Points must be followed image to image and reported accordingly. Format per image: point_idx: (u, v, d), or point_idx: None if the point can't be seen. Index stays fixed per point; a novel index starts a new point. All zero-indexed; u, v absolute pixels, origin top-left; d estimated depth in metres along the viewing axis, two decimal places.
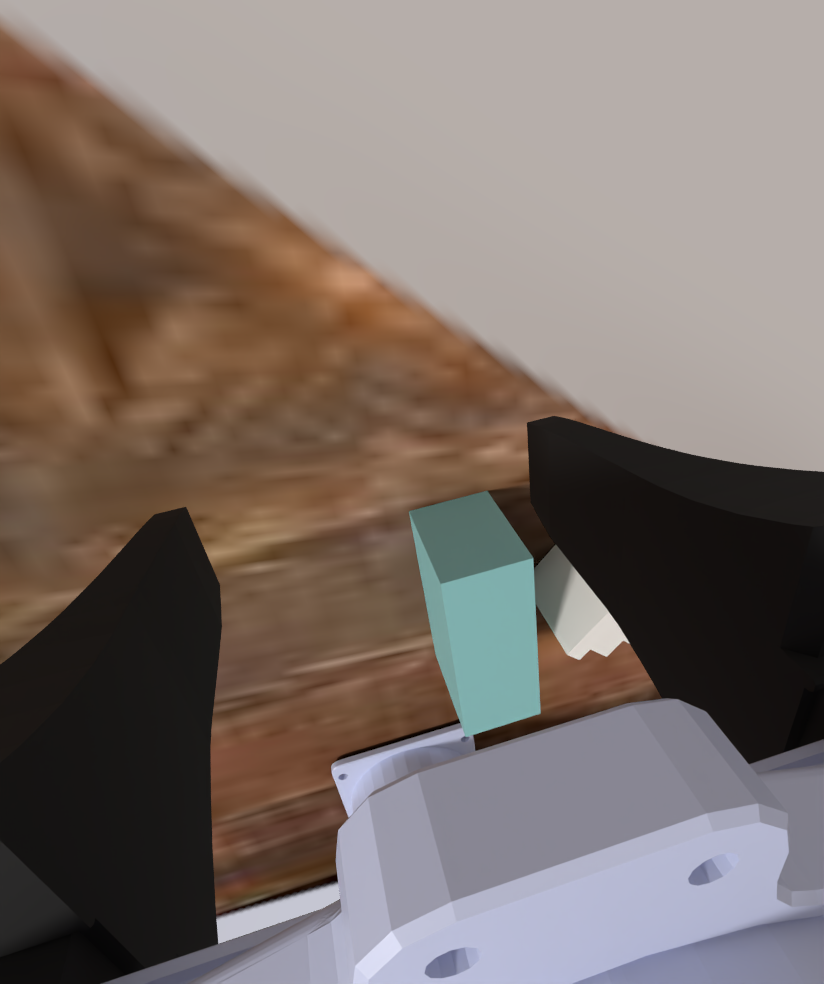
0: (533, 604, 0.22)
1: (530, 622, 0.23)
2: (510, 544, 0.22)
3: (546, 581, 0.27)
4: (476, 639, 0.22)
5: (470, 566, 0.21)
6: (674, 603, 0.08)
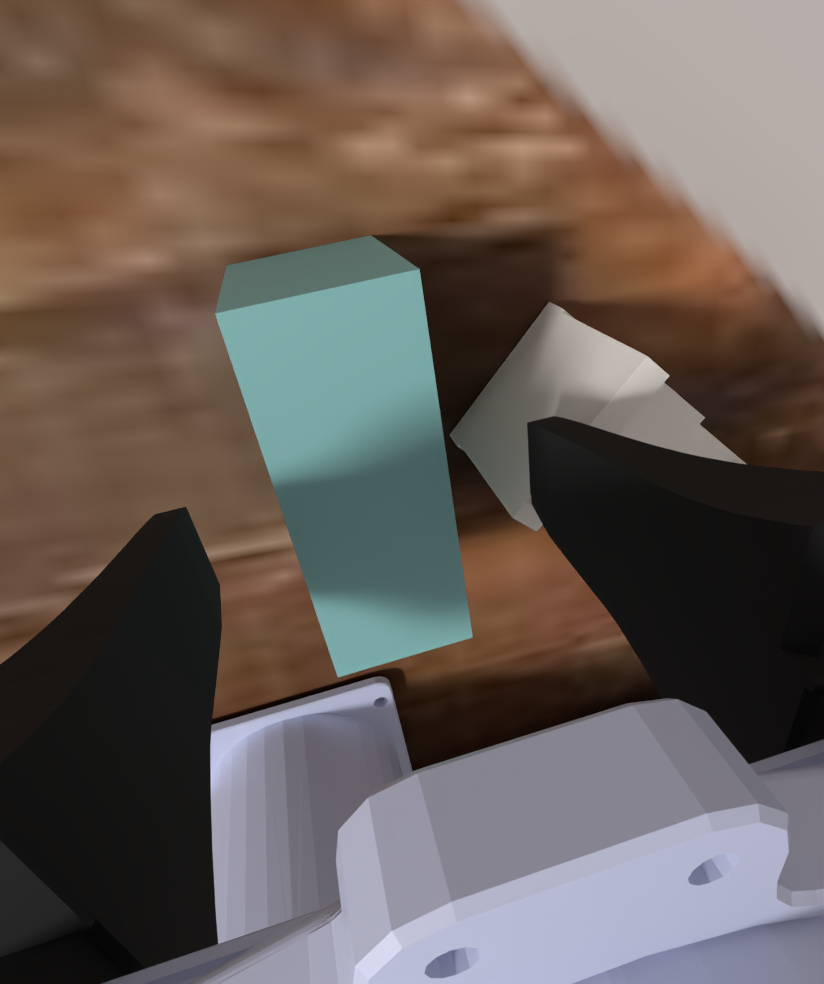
0: (432, 391, 0.11)
1: (432, 437, 0.12)
2: (382, 265, 0.11)
3: (486, 419, 0.16)
4: (324, 467, 0.11)
5: (289, 291, 0.10)
6: (674, 603, 0.08)
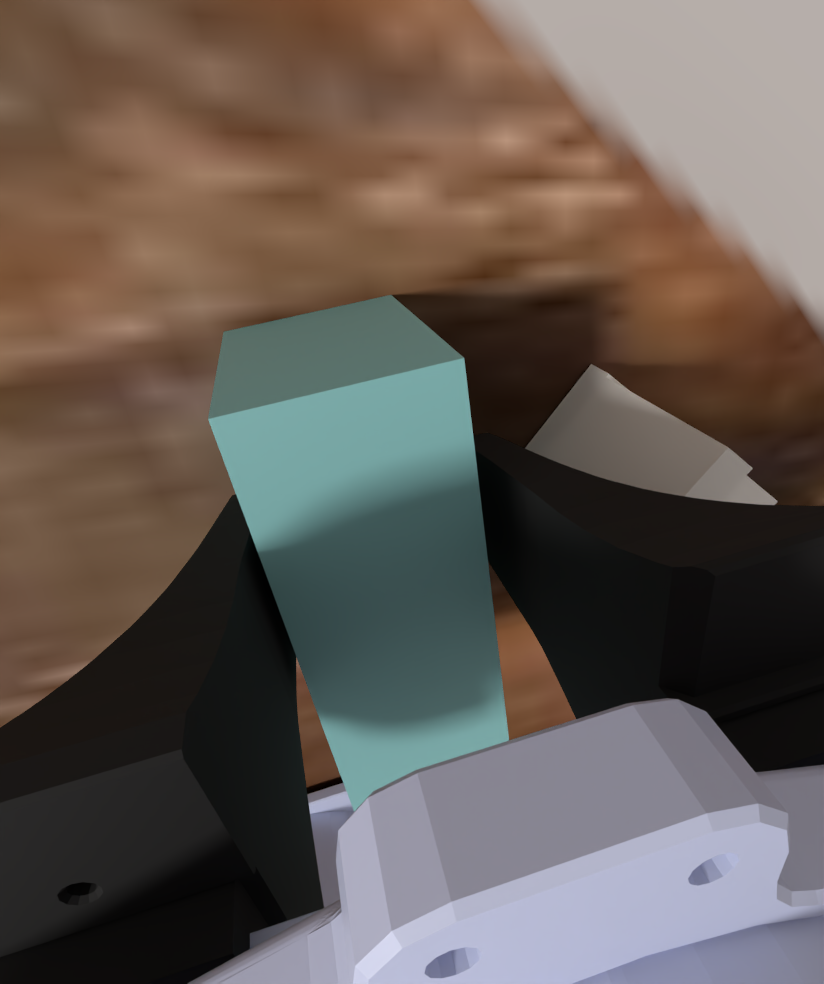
0: (474, 497, 0.09)
1: (472, 547, 0.10)
2: (414, 346, 0.09)
3: None
4: (342, 587, 0.09)
5: (301, 385, 0.08)
6: (580, 631, 0.08)
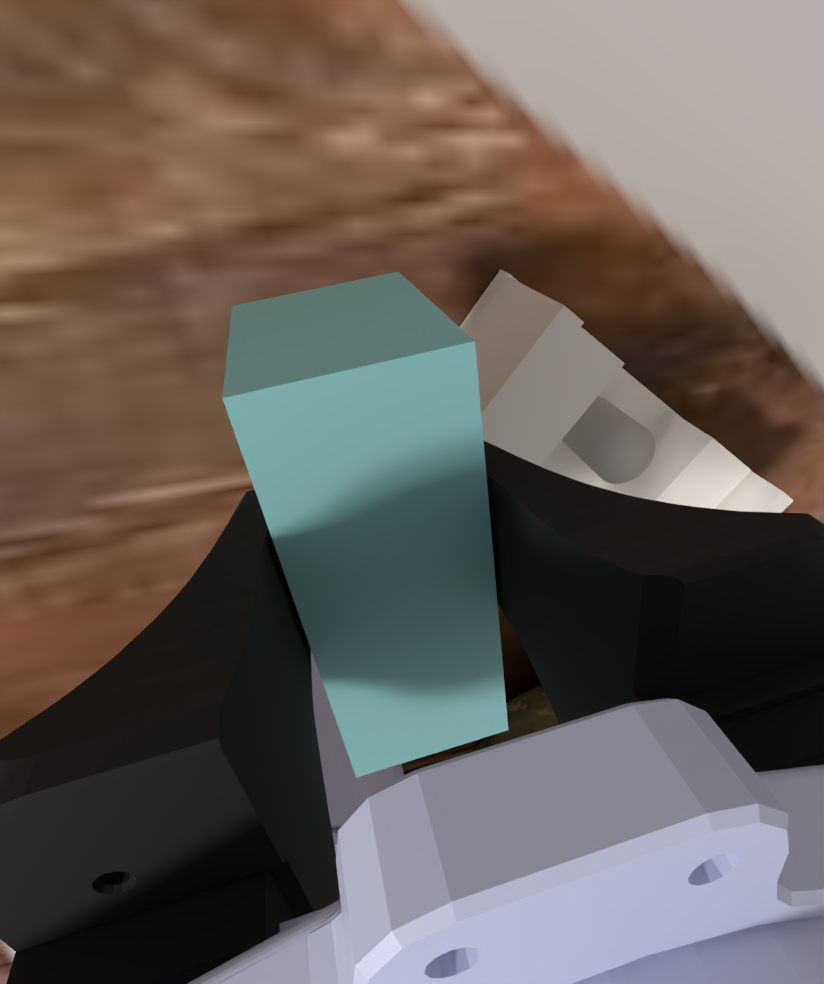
0: (480, 478, 0.09)
1: (477, 527, 0.10)
2: (424, 328, 0.09)
3: None
4: (349, 563, 0.10)
5: (313, 365, 0.08)
6: (560, 637, 0.08)
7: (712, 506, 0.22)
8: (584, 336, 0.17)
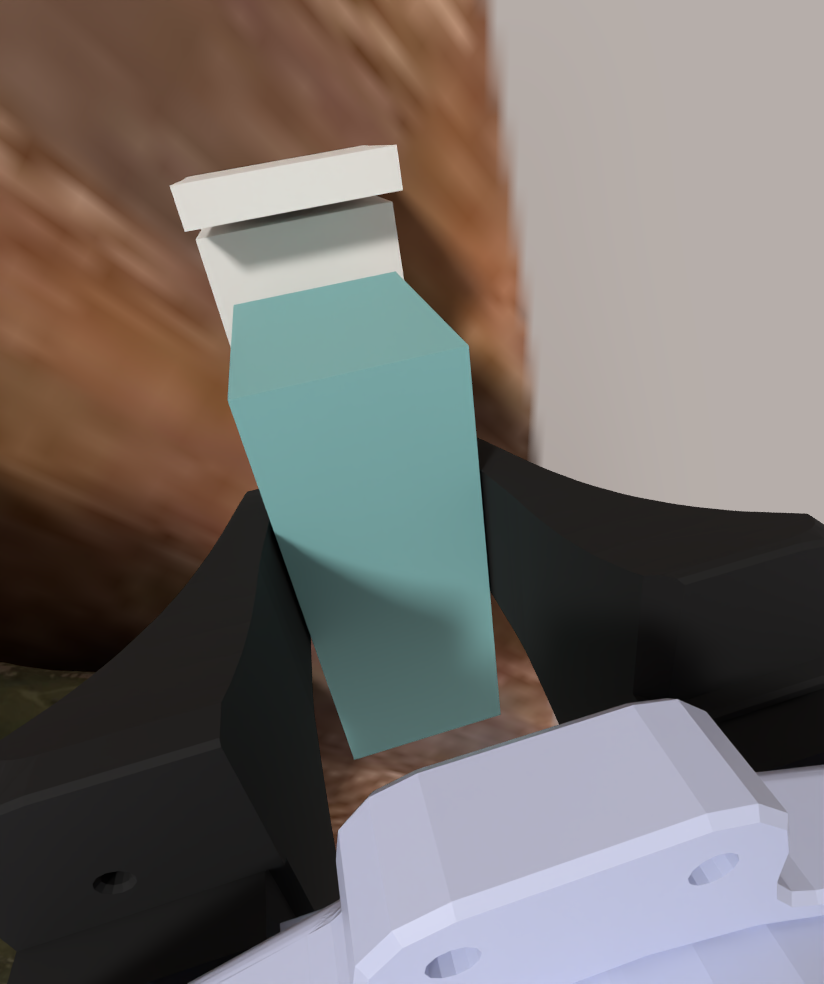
0: (474, 475, 0.10)
1: (470, 521, 0.10)
2: (421, 330, 0.09)
3: (231, 170, 0.14)
4: (348, 556, 0.10)
5: (314, 368, 0.09)
6: (560, 637, 0.08)
7: None
8: (392, 242, 0.13)
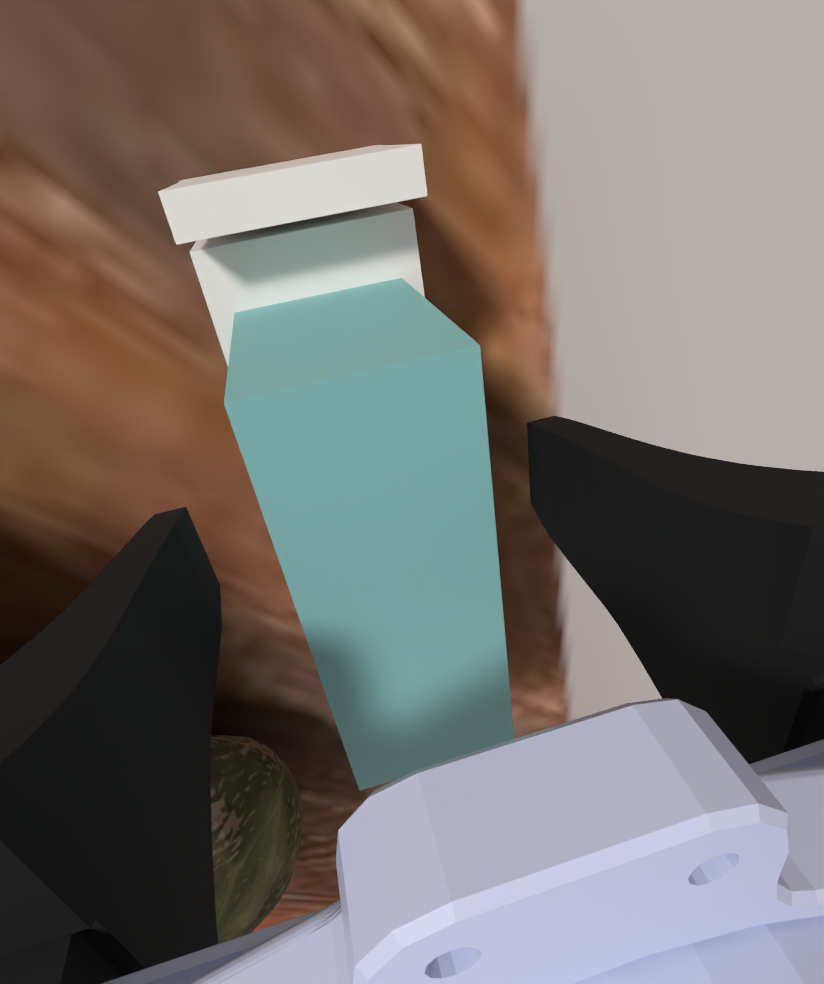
0: (486, 484, 0.09)
1: (482, 534, 0.10)
2: (429, 332, 0.09)
3: (231, 173, 0.12)
4: (353, 571, 0.09)
5: (316, 370, 0.08)
6: (674, 603, 0.08)
7: None
8: (411, 254, 0.12)
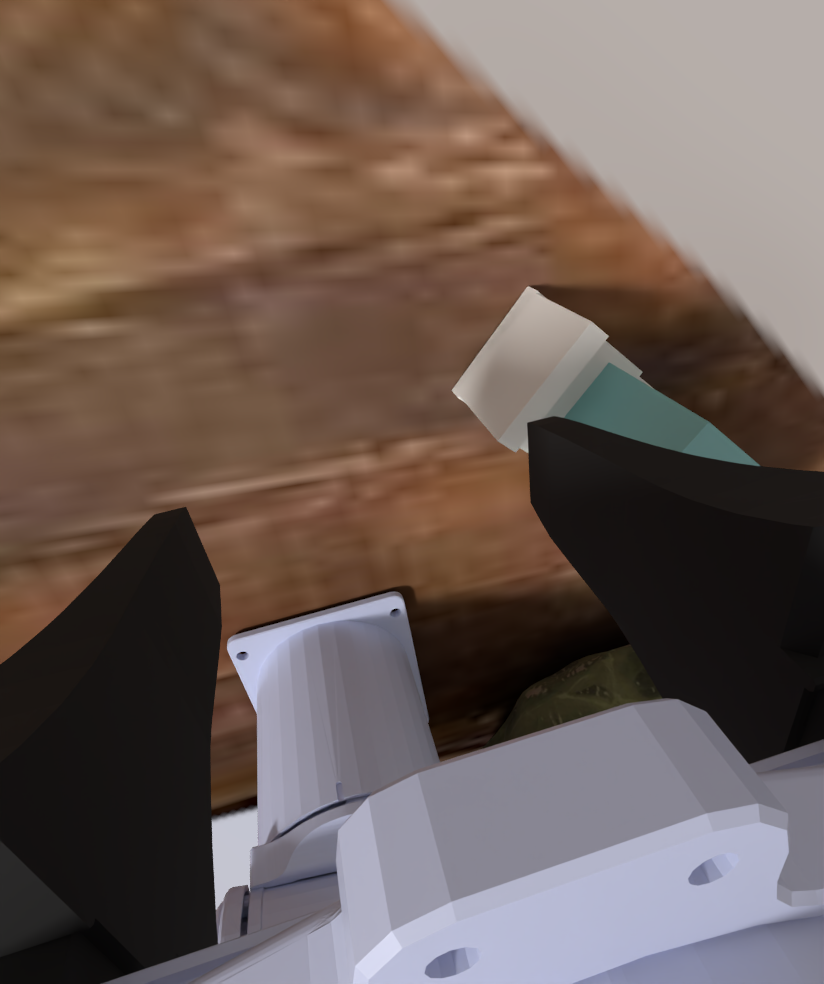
0: (751, 463, 0.16)
1: None
2: (672, 420, 0.16)
3: (480, 375, 0.21)
4: None
5: None
6: (674, 603, 0.08)
7: None
8: (606, 348, 0.19)
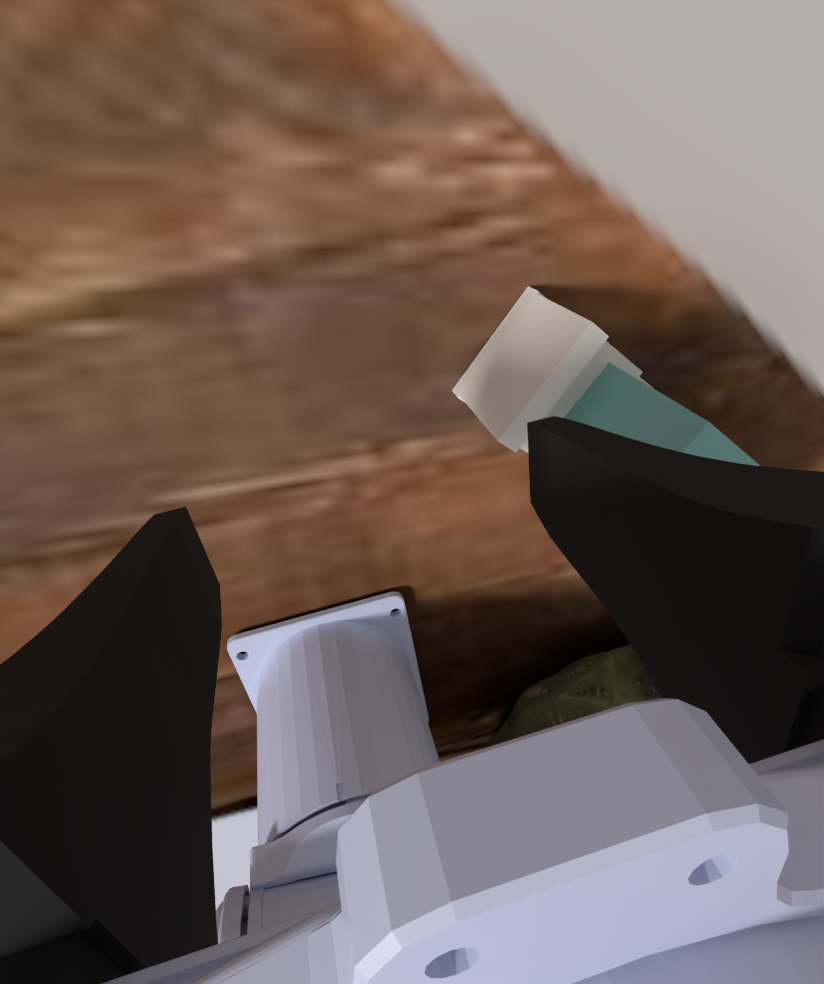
0: (751, 463, 0.16)
1: None
2: (672, 420, 0.16)
3: (480, 375, 0.21)
4: None
5: None
6: (674, 603, 0.08)
7: None
8: (607, 348, 0.19)
